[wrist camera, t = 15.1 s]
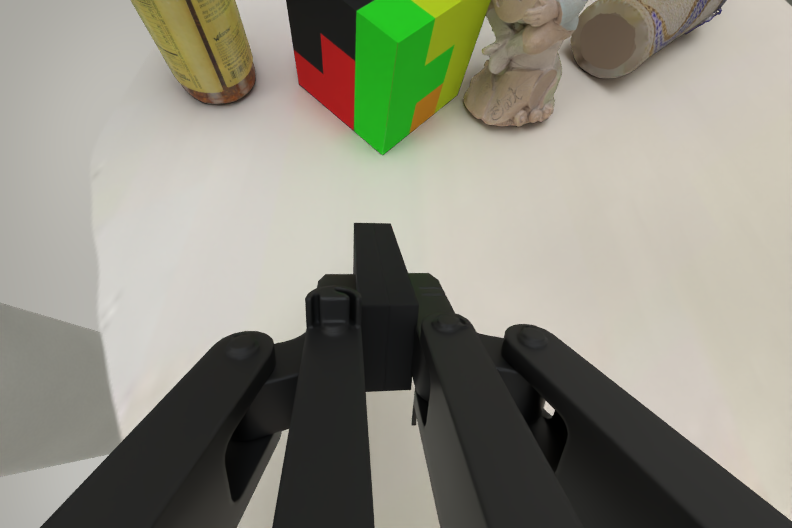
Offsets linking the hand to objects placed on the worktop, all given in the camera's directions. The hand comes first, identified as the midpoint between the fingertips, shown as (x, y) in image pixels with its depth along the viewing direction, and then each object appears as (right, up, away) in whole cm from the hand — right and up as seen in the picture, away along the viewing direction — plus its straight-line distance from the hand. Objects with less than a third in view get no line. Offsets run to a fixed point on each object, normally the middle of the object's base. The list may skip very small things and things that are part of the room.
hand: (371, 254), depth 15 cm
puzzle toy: (0, +15, +17) cm, 23 cm away
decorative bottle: (+29, +25, +25) cm, 46 cm away
